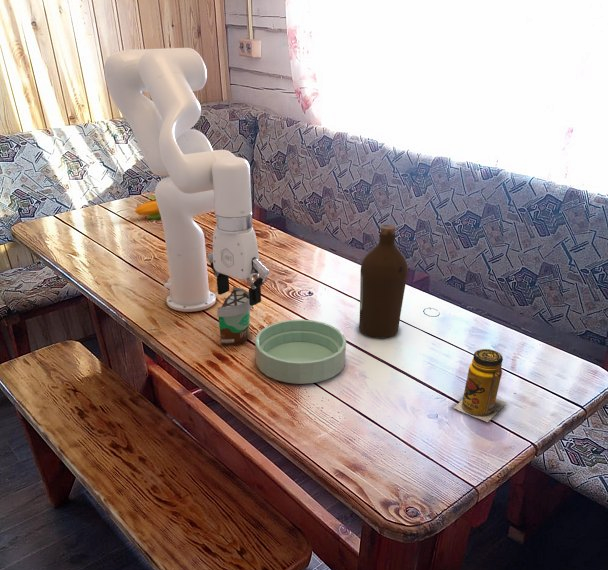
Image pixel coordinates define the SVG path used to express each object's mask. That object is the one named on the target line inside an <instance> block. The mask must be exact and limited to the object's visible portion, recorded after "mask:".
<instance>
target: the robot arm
mask: <svg viewBox="0 0 608 570" xmlns="http://www.w3.org/2000/svg"><path fill="white" fill-rule="evenodd" d="M104 61H105V62H104V66H103V70H104V79H105V83H106V87H107V90H108V92H109V95H110V97H111V99H112V101H113V103H114V105H115V106H116V108H117V109H118V111H119V112H120V114H121V115H122V117H123V118H124V119H125V121H126V122H127V123H128V125H129V127H130V130H131V131H132V133H133V136H134V139H135V140H136V143H137V145H138V148H139V150H140V152H141V154H142V156H143V158H144V161H145V163H146V165H147V167H148V169H149V170H150V172H151V173H152V174H154V176H158V177H164V178H162V179H160V180H159V182H157V184H156V186H155V188H154V189H155V190H154V194H155V195H154V196H155V197H156V198H155V199H156V201H157V205H158V208H159V212H160V215H161V218H160V219H161V223H162V228H163V234H164V235H163V236H164V241H165V250H166V257H167V267H168V274H169V275H168V276H169V278H167V282H164V284H163V287H164V288H165V289H167V290H169V295H168V296H167V297H166V299H165V300H166V305H167V306H168V307H169V308H170V309H171V310H174V311H178V312H181V313H182V312H183V313H194V312H200V311H204V310H207V309H210V308H211V307H213V306H214V305H215V303H216V301H217V298H216V294H215V293H214V292H212V291H210V286H209V277H208V276H209V275H208V263H207V259H208V262H209V264H210V265H209V266H210V268H211V269H212V271H213V276H214V278H216V288H217V294H218V295H219V296H221V295H223V294H226V293H228V292H230V278H234V279H237V280H241V281H245V280H246V282H247V284H248V286H249V287H250V288H248V293H249V304H250V305H251V306H252V307H253V306H256V305H257V304H260V303H261V302H262V286H263V285H264V284H265V283H266V282H267V278H268V276H269V274H270V271H269V269H268V268H267V267H266V266H265V265H264V264H262V263H261V261H260V255H259V245H258V240H257V235H256V231H255V229H254V224H253V207H252V206H253V203H252V183H251V166H250V163H249V161H248V160H247V159H246V158H244V157H239V156H236V155H235V154H233V153H232V151H229V150H227V149H216V150H214V149H213V147H212V145H211V142H210V141H209V139H208V137H207V136H206V135H205V134H204V133H203V132H202V131H201V130H198V129H193V127H194V126H195V125H196V124H197V123H198V121H200V118H201V114H202V108H201V104H200V102H199V100H198V98H197V96H196V94H195V93H194V92H198V91H201V90H203V89H204V87H205V86H206V83H207V79H208V74H207V73H208V72H207V67H206V63H205V62H204V59H203V57H202V56H201V55H200V53H199V52H198V51H196V50H195V49H193V48H191V47H169V48H168V47H167V48H165V47H164V48H162V47H161V48H137V49H136V48H135V49H124V50H123V49H122V50H118V51H115V52H113V53H111V54H110V55H108V57H107V58H106V59H105V60H104ZM143 92H144V93H145V92H147V93H148V95H149V97H147V96H146V95H144V94H143ZM210 213H214V214H213V215H214V218H215V222H216V225H215V226H214V228H213V233H212V252H210V253H207V251H206V250H207V249H206V240H205V239H206V238H205V234H204V231H203V229H202V227H200V225H199V224H198V223H197V222H196V221H195V220H194V218H195V217H197V216H201V215H205V214H210ZM254 280H255V281H254Z"/></svg>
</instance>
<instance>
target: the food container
mask: <svg viewBox="0 0 608 570" xmlns="http://www.w3.org/2000/svg"><path fill="white" fill-rule="evenodd" d="M252 308H253V306H251V305H250V304H249V291H248V290H246V289H244V288H241V287H236V286H232V291H231V293H230V295H228V296H227V297H226V298H225V299H224V302H223V303H222V305H221V306H217V309H216V317H218V324H219V325H218V327H219V335H220V343H221V346H225V347H228V346H236V345H240V344H242V343H245V342H246V341H248V339H249V338H250V312H251V309H252Z"/></svg>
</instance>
